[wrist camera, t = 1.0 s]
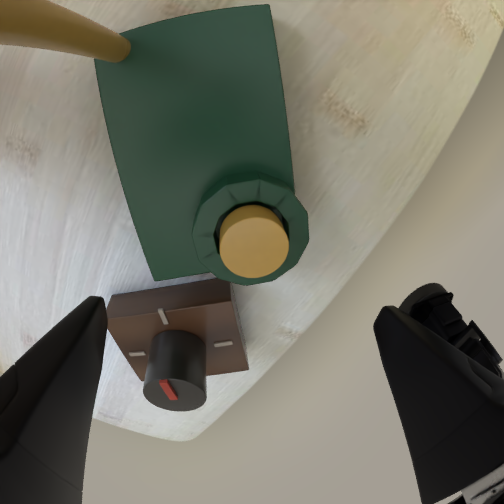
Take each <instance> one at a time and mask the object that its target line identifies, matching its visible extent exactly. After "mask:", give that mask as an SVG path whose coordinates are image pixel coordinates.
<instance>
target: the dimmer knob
mask: <svg viewBox="0 0 504 504" xmlns="http://www.w3.org/2000/svg"><path fill="white" fill-rule="evenodd" d="M143 394H144V396H145V398H146V399H147V400H148V401H149V402H150V403H152V404H154V405H155V406H157V407H160V408H163V409H166V410H171V411H190V410H194V409H197V408H199V407H201V406H202V405H203V404H204V403H205V401H206V398H207V396H206V347H205V345H204V343H203V342H202V341H201V339H199V338H198V337H197V336H195V335H193V334H191V333H188V332H185V331H179V330H169V331H165V332H162V333H160V334H158V335H156V336H155V337H154V338H153V340H152V342H151V346H150V352H149V357H148V363H147V369H146V374H145V381H144V387H143Z"/></svg>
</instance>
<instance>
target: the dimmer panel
mask: <svg viewBox="0 0 504 504" xmlns="http://www.w3.org/2000/svg"><path fill="white" fill-rule="evenodd" d="M106 312H107V317H108V326H107V328H108V330H109V332H110V333H111V335H112V337H113V338H114V340H115V342H116V343H117V345H118V347H119V348H120V350H121V351H122V353H123V355H124V356H125V358H126V359H127V361H128V362H129V364H130V365H131V367H132V368H133V370H134V371H135V373H136V374H137V376H138V377H139V379H140V380H141V381H145V374H146V369H147V363H148V357H149V352H150V346H151V342H152V340H153V338H154V337H155V336H156V335H158V334H160V333H162V332H165V331H169V330H179V331H185V332H188V333H191V334H193V335H195V336H197V337H198V338H199V339H201V341H202V342H203V343H204V345H205V347H206V376H209V375H217V374H225V373H232V372H239V371H245V370H249V366H248V358H247V350H246V344H245V339H244V335H243V331H242V327H241V323H240V318H239V314H238V310H237V306H236V301H235V297H234V293H233V288H232V284H231V282H229V281H225V280H221V279H218V278H216V279H211V280H205V281H199V282H193V283H187V284H181V285H174V286H168V287H162V288H156V289H150V290H143V291H137V292H130V293H124V294H117V295H112V296H111V299H110V301H109V304H108V306H107V309H106Z"/></svg>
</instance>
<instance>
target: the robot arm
mask: <svg viewBox="0 0 504 504" xmlns="http://www.w3.org/2000/svg"><path fill="white" fill-rule="evenodd" d="M453 296H454V295H453V293H452V292H449V293H446V294H443V295H440V296H437V297H434V298H431V299H428V300H425V301H421V302H418V303H415V304H413V305H412V307H411V310H410V314H409V315H407V314H406V313H404V312H403V311H401V310H400V309H398V308H396V307H395V306H384V307H383V308H382V309H381V311H380V313H379V315H378V316H377V318H376V320H375V322H374V326H373V327H374V333H375V336H376V341H377V344H378V348H379V352H380V356H381V360H382V364H383V367H384V370H385V373H386V376H387V379H388V382H389V385H390V388H391V391H392V394H393V397H394V400H395V403H396V407H397V410H398V413H399V416H400V419H401V423H402V426H403V430H404V433H405V437H406V440H407V444H408V447H409V451H410V455H411V458H412V462H413V467H414V471H415V475H416V479H417V484H418V488H419V492H420V497H421V502H422V504H434V503H436V502H438V501H440V500H443V499H445V498H447V497H449V496H451V495H453V494H455V493H457V492H458V491H460V490H461V492H462V495H460V496H459V497H457V498H456V499H454V500H453V501H451V502H450V503H448V504H504V372H503V371H502V369H501V368H500V366H499V365H498V364H499V363H500V362H501V361H502V360H503V359H502V358H501V357H500V355H499V354H498V353H497V351H496V349H495V348H494V347H493V345H492V344H491V343H490V341H489V340H488V339H487V337H486V336H485V335H484V334H483V332H482V331H481V330H480V329H479V327H478V326H477V325H476V324H475V323H474V321H473V320H472V321H471V322H470V323H469V325H468V326H467V325H466V323H465V322H464V321H463V320H462V315H461V314H460V313H459V312H458V311H457V309H456V308H455V307H454V306H453V305H452V299H453ZM107 326H108V317H107V312H106V307H105V302H104V299H103V298H102V297H98V296H89V297H88V298H87V299H86V300H84V301H83V302H82V303H81V304H80V305H78V306H77V307H76V308H75V309H74V310H73V311H71V312H70V313H69V314H68V315H67V316H66V317H64V318H63V319H62V320H61V321H60V322H59V323H58V324H56V325H55V326H54V327H53V328H52V329H51V330H50V331H49V332H48V333H46V334H45V335H44V336H43V337H42V338H41V339H40V340H39V341H38V342H37V343H35V344H34V345H33V346H32V347H31V348H30V349H29V350H28V351H27V352H26V353H25V354H24V355H23V356H22V357H21V358H19V359H18V360H17V361H16V362H15V365H12V366H11V367H10V368H9V369H8V370H7V371H6V372H5V373H4V374H3V375H2V376H1V377H0V504H82V492H81V491H82V490H83V479H84V469H85V459H86V452H87V445H88V438H89V432H90V426H91V420H92V414H93V409H94V404H95V399H96V394H97V389H98V384H99V380H100V375H101V370H102V363H103V355H104V347H105V340H106V333H107ZM479 339H481V340H480V341H479Z"/></svg>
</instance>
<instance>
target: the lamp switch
mask: <svg viewBox="0 0 504 504" xmlns="http://www.w3.org/2000/svg"><path fill="white" fill-rule="evenodd" d="M219 241H220V256H221V259H222V261H223V263H224V264H225V266H226V267H227V268H228V269H229V270H230V271H231V272H233V273H235V274H237V275H239V276H242V277H246V278H259V277H263V276H266V275H269V274H271V273H272V272H274V271H275V270H277V269H278V268H279V267H280V266H281V265H282V264H283V262H284V261H285V259H286V257H287V254H288V251H289V241H288V237H287V234H286V232H285V230H284V228H283V225H282V223H281V221H280V219H279V218H278V216H277V215H276V214H275V213H274V212H273V211H271V210H270V209H268V208H266V207H263V206H259V205H246V206H242V207H240V208H237V209H235V210H234V211H232V212H231V213H230V214H229V215H228V216H227V217H226V218H225V219H224V221H223V223H222V225H221V228H220V233H219Z"/></svg>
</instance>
